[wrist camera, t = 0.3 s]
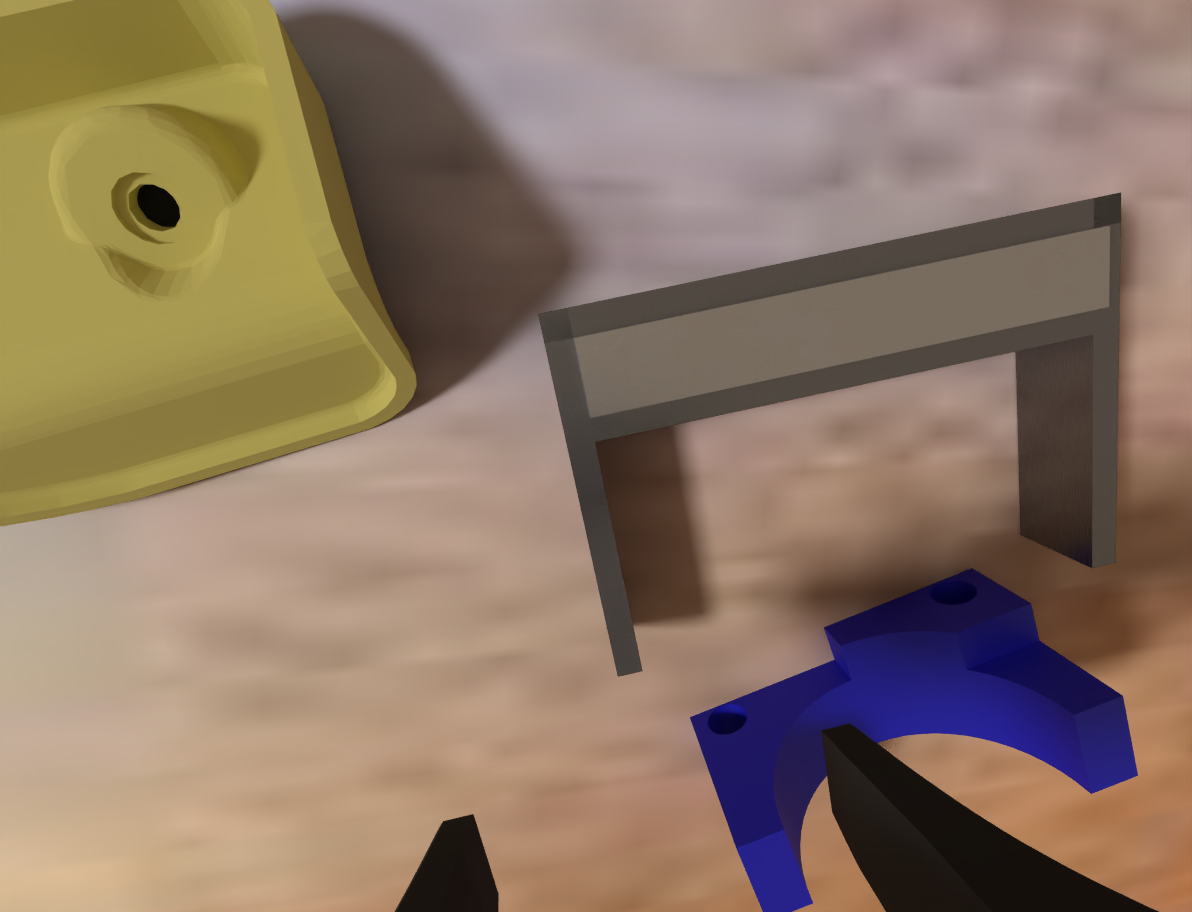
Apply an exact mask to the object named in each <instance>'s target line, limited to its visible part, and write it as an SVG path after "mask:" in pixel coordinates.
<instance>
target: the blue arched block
mask: <svg viewBox="0 0 1192 912" xmlns="http://www.w3.org/2000/svg"><path fill="white" fill-rule="evenodd" d="M824 629H825V632H826V635H827V638H828V641H829V644H830V647H831V650H832V653H833V656H834V659H835V660H833V661H830V662H828V663H825V664H823V665H820V666H818V667H815V668H813V669H810V670H808V671H805V672H803V673H800V674H798V675H795V676H793V677H790V678H788V679H785V680H783V681H780V682H778V683H775V684H773V685H770V686H768V687H765V688H763V689H760V690H758V691H755V692H752V693H750V694H747V695H745V696H742V697H740V698H737V699H735V700H732V701H730V702H727V703H725V704H722V705H720V706H717V707H715V708H712V709H710V710H707V711H705V712H702V713H700V714H697V715H695V716H692V717H690V719H691V722H692V725H693V727H694V730H695V733H696V736H697V739H698V742H699V744H700V747H701V750H702V753H703V756H704V758H705V761H706V764H707V767H708V770H709V772H710V775H711V778H712V781H713V784H714V787H715V789H716V792H717V795H718V798H719V801H720V803H721V806H722V809H723V812H724V815H725V817H726V820H727V823H728V826H729V829H730V832H731V834H732V837H733V840H734V843H735V846H736V848H737V851H738V853H739V856H740V858H741V860H742V863H743V865H744V867H745V870H746V872H747V875H748V877H749V879H750V882H751V884H752V887H753V889H754V891H755V894H756V896H757V898H758V901H759V903H760V906H761V908H762V910H763V912H792V911H795V910H797V909H800V908H802V907H805V906H807V905H810V904H812V903H813V902H812V899H811V897H810V894H809V891H808V889H807V886H806V882H805V878H804V875H803V870H802V863H801V853H800V840H801V829H802V824H803V819H804V816H805V813H806V810H807V807H808V805H809V802H810V800H811V798H812V796H813V794H814V793H815V791H816V789H817V788H818V786H819V785H820V783H821V782H822V781H823V780H824V778H825V777H826V776H827V770H826V763H825V756H824V748H823V741H822V734H821V730H825V729H829V728H833V727H837V726H841V725H845V724H852V725H853V726H855V727H856V728H857V729H859V730H860V731H861V732H863V733H864V734H865V735H867V736H868V737H869V738H871V739H872V740H873V741H875V742H876V743H878V742H881V741H885V740H888V739H891V738H896V737H901V736H906V735H915V734H929V733H941V734H956V735H965V736H971V737H977V738H982V739H986V740H990V741H994V742H997V743H1000V744H1003V745H1007V746H1010V747H1013V748H1015V749H1018V750H1020V751H1023V752H1025V753H1027V754H1030V755H1032V756H1034V757H1036V758H1038V759H1040V760H1042V761H1044V762H1046V763H1048V764H1049V765H1051V766H1053V767H1055V768H1056V769H1058V770H1060V771H1061V772H1063V773H1064V774H1066V775H1067V776H1069V777H1070V778H1071V779H1073V780H1074V781H1076V782H1077V783H1078V784H1080V785H1081V786H1082V787H1083V788H1085V789H1086V790H1087V791H1088V792H1089V793H1091V794H1092V793H1095V792H1097V791H1100V790H1103V789H1105V788H1108V787H1110V786H1113V785H1115V784H1118V783H1120V782H1123V781H1125V780H1128V779H1131V778H1133V777H1136V776H1138V773H1137V768H1136V763H1135V757H1134V752H1133V747H1132V742H1131V736H1130V731H1129V726H1128V720H1127V715H1126V710H1125V705H1124V699H1123V696H1122V695H1121V694H1119V693H1118V692H1116V691H1115V690H1113V689H1112V688H1110V687H1109V686H1107V685H1106V684H1104V683H1103V682H1101V681H1100V680H1098V679H1097V678H1095V677H1094V676H1092V675H1091V674H1089V673H1088V672H1086V671H1084V670H1083V669H1081V668H1080V667H1078V666H1077V665H1075V664H1074V663H1072V662H1071V661H1069V660H1068V659H1066V658H1065V657H1063V656H1062V655H1060V654H1059V653H1057V652H1056V651H1054V650H1053V649H1051V648H1050V647H1048V646H1047V645H1045V644H1044V643H1042V642H1041V641H1039V637H1038V632H1037V628H1036V623H1035V619H1034V615H1033V610H1032V606H1031V603H1029V602H1028V601H1026V600H1024V599H1023V598H1021V597H1019V596H1018V595H1016V594H1014V593H1013V592H1011V591H1009V590H1008V589H1006V588H1004V587H1002V586H1001V585H999V584H997V583H996V582H994V581H992V580H991V579H989V578H987V577H986V576H984V575H982V574H981V573H979V572H977V571H976V570H974V569H969V570H967V571H964V572H962V573H959V574H957V575H954V576H952V577H949V578H947V579H944V580H942V581H939V582H937V583H934V584H932V585H929V586H927V587H924V588H922V589H919V590H917V591H914V592H912V593H909V594H907V595H904V596H902V597H899V598H897V599H894V600H892V601H889V602H887V603H884V604H882V605H879V606H877V607H874V608H872V609H869V610H867V611H864V612H862V613H859V614H857V615H854V616H852V617H849V618H847V619H844V620H842V621H839V622H837V623H834V624H831V625H829V626H826V627H824Z"/></svg>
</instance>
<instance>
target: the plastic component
mask: <svg viewBox="0 0 1192 912" xmlns="http://www.w3.org/2000/svg"><path fill="white" fill-rule="evenodd" d="M145 184H153V185H156V186H158V187H160V188H163V189H165V190H166V191H167V192H168V193H169V194H171V195H172V196H173V197H174V199H175V200H176V202H177V204H178V205H179V208H180V219H179V221H178V223H177V225H176V227H162V226H160V225H158V224H156V223H154V222H152V221H150V220H149V219H147V218H146V216H145V215H144V213H143V212H142V211H141V209H140V208H139V206H138V201H137V194H138V191H139V188H140V187H142V186H143V185H145ZM416 386H417V383H416V374H415V370H414V367H413V364H412V360H411V357H410V354H409V351H408V350H407V348H406V346H405V345H404V343H403V342H402V340H401V338H400V337H399V335H398V333H397V332H396V330H395V328H394V326H393V324H392V322H391V320H390V318H389V315H388V313H387V311H386V309H385V307H384V304H383V302H382V299H381V297H380V294H379V292H378V289H377V287H376V284H375V281H374V279H373V276H372V273H371V270H370V267H369V264H368V261H367V259H366V255H365V251H364V248H363V244H362V240H361V237H360V233H359V229H358V226H357V222H356V218H355V215H354V211H353V208H352V204H351V200H350V197H349V193H348V189H347V186H346V182H345V178H344V175H343V171H342V167H341V164H340V160H339V156H338V153H337V149H336V145H335V142H334V138H333V134H332V131H331V127H330V123H329V120H328V116H327V112H326V109H325V105H324V103H323V100H322V98H321V96H320V94H319V93H318V91H317V89H316V87H315V85H314V83H313V81H312V79H311V78H310V76H309V74H308V72H307V70H306V68H305V66H304V64H303V62H302V61H301V59H300V57H299V55H298V53H297V51H296V49H295V47H294V46H293V44H292V42H291V40H290V38H289V36H288V34H287V32H286V31H285V29H284V27H283V25H282V23H281V21H280V19H279V17H278V15H277V14H276V12H275V10H274V8H273V7H272V5H271V3H270V1H269V0H0V526H6V525H12V524H18V523H24V522H30V521H36V520H41V519H47V518H53V517H58V516H63V515H68V514H73V513H78V512H83V511H87V510H92V509H97V508H101V507H105V506H110V505H114V504H118V503H122V502H126V501H131V500H135V499H139V498H143V497H146V496H150V495H153V494H156V493H159V492H163V491H166V490H169V489H173V488H176V487H179V486H183V485H186V484H189V483H192V482H196V481H199V480H202V479H206V478H209V477H212V476H216V475H219V474H222V473H225V472H229V471H232V470H235V469H239V468H242V467H245V466H248V465H252V464H255V463H258V462H262V461H265V460H268V459H272V458H275V457H278V456H281V455H285V454H288V453H291V452H295V451H298V450H301V449H305V448H308V447H311V446H314V445H318V444H321V443H324V442H328V441H331V440H334V439H338V438H341V437H344V436H347V435H351V434H354V433H357V432H361V431H364V430H367V429H371V428H373V427H375V426H377V425H379V424H381V423H383V422H385V421H387V420H389V419H391V418H392V417H393V416H395V415H396V414H397V413H399V412H400V411H401V410H403V409H404V408H405V406H406V405H407V404H408V403H409V401H410V400H411V399H412V398H413V395H414V392H415V389H416Z"/></svg>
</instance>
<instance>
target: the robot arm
mask: <svg viewBox="0 0 1192 912" xmlns="http://www.w3.org/2000/svg"><path fill="white" fill-rule="evenodd" d="M821 734H822V741H823V748H824V756H825V763H826V770H827V777H828V785H829V792H830V799H831V806H832V813H833V815H834V817H835V819H836V821H837V823H838V825H839V827H840V829H841V832H842V834H843V836H844V838H845V840H846V842H847V844H848V846H849V848H850V850H851V852H852V854H853V856H854V858H855V860H856V862H857V864H858V866H859V868H860V870H861V871H862V873H863V875H864V876H865V878H866V880H867V881H868V883H869V884H870V886H871V888H872V889H873V891H874V893H875V894H876V896H877V898H878V899H879V901H880V903H881V904H882V906H883V907H884V909H885V911H886V912H1158V911H1156V910H1154V909H1152V908H1149V907H1147V906H1145V905H1143V904H1141V903H1139V902H1137V901H1135V900H1132V899H1130V898H1128V897H1126V896H1124V895H1122V894H1120V893H1118V892H1116V891H1114V890H1112V889H1110V888H1107V887H1105V886H1103V885H1101V884H1099V883H1097V882H1095V881H1093V880H1091V879H1089V878H1087V877H1085V876H1083V875H1081V874H1079V873H1077V872H1075V871H1074V870H1072V869H1070V868H1068V867H1066V866H1064V865H1062V864H1061V863H1059V862H1057V861H1055V860H1053V859H1051V858H1050V857H1048V856H1046V855H1044V854H1042V853H1041V852H1039V851H1037V850H1035V849H1033V848H1032V847H1030V846H1028V845H1026V844H1024V843H1023V842H1021V841H1019V840H1018V839H1016V838H1014V837H1013V836H1011V835H1009V834H1008V833H1006V832H1004V831H1003V830H1001V829H1000V828H998V827H996V826H995V825H993V824H992V823H990V822H988V821H987V820H985V819H984V818H982V817H981V816H979V815H977V814H976V813H974V812H973V811H971V810H970V809H968V808H967V807H965V806H964V805H962V804H961V803H959V802H958V801H956V800H955V799H953V798H952V797H950V796H949V795H948V794H946V793H945V792H943V791H942V790H940V789H939V788H937V787H936V786H935V785H933V784H932V783H930V782H929V781H927V780H926V779H924V778H923V777H922V776H920V775H919V774H918V773H916V772H915V771H913V770H912V769H911V768H909V767H908V766H907V765H905V764H904V763H903V762H901V761H900V760H898V759H897V758H896V757H894V756H893V755H892V754H890V753H889V752H888V751H886V750H885V749H884V748H882V747H881V746H880V745H878V744H877V743H876V742H875V741H873V740H872V739H871V738H869V737H868V736H867V735H865V734H864V733H863V732H861V731H860V730H859V729H857V728H856V727H855V726H853V725H852V724H845V725H841V726H837V727H833V728H829V729H825V730H821ZM395 912H498V891H497V888H496V885H495V881H494V878H493V875H492V872H491V869H490V866H489V862H488V859H487V856H486V853H485V850H484V846H483V843H482V840H481V837H480V834H479V831H478V827H477V824H476V821H475V818H474V815H473V814H472V815H468V816H463V817H459V818H455V819H451V820H447V821H443V823H442V824H441V826H440V827H439V829H438V831H437V833H436V835H435V837H434V839H433V841H432V843H431V845H430V847H429V848H428V850H427V852H426V854H425V856H424V858H423V860H422V862H421V864H420V866H419V868H418V870H417V872H416V873H415V875H414V877H413V879H412V881H411V883H410V885H409V887H408V889H407V890H406V892H405V894H404V896H403V898H402V899H401V901H400V903H399V905H398V907H397V908H396V910H395Z"/></svg>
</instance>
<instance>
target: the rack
mask: <svg viewBox="0 0 1192 912" xmlns="http://www.w3.org/2000/svg"><path fill="white" fill-rule="evenodd" d="M1120 233H1121V193H1117V194H1112V195H1107V196H1102V197H1097V198H1093V199H1088V200H1083V201H1078V202H1073V203H1069V204H1064V205H1059V206H1054V207H1049V208H1045V209H1040V210H1035V211H1030V212H1025V213H1021V214H1016V215H1011V216H1006V217H1001V218H997V219H992V220H987V221H982V222H977V223H973V224H968V225H963V226H958V227H953V228H949V229H944V230H939V231H934V232H929V233H925V234H920V235H915V236H910V237H905V238H901V239H896V240H891V241H886V242H881V243H877V244H872V245H867V246H862V247H857V248H853V249H848V250H843V251H838V252H833V253H829V254H824V255H819V256H814V257H809V258H805V259H800V260H795V261H790V262H785V263H781V264H776V265H771V266H766V267H761V268H757V269H752V270H747V271H742V272H737V273H733V274H728V275H723V276H718V277H713V278H709V279H704V280H699V281H694V282H689V283H685V284H680V285H675V286H670V287H665V288H661V289H656V290H651V291H646V292H641V293H637V294H632V295H627V296H622V297H617V298H613V299H608V300H603V301H598V302H593V303H589V304H584V305H579V306H574V307H569V308H565V309H560V310H555V311H550V312H545V313H541V314H538V316H539V320H540V325H541V329H542V334H543V338H544V343H545V347H546V352H547V357H548V361H549V366H550V370H551V375H552V379H553V384H554V388H555V393H556V397H557V402H558V407H559V411H560V416H561V420H562V425H563V429H564V434H565V438H566V443H567V448H568V452H569V457H570V461H571V466H572V470H573V475H574V479H575V484H576V488H577V493H578V498H579V502H580V507H581V511H582V516H583V520H584V525H585V529H586V534H587V539H588V543H589V548H590V552H591V557H592V561H593V566H594V570H595V575H596V579H597V584H598V589H599V593H600V598H601V602H602V607H603V611H604V616H605V620H606V625H607V629H608V634H609V639H610V643H611V648H612V652H613V657H614V661H615V666H616V670H617V675H618V677H619V676H623V675H628V674H632V673H636V672H641V671H642V666H641V661H640V657H639V652H638V647H637V642H636V637H635V633H634V628H633V623H632V618H631V613H630V608H629V604H628V599H627V594H626V589H625V584H624V580H623V575H622V570H621V565H620V560H619V556H618V551H617V546H616V541H615V536H614V531H613V527H612V522H611V517H610V512H609V507H608V503H607V498H606V493H605V488H604V483H603V478H602V474H601V469H600V464H599V459H598V454H597V450H596V445H595V442H598V441H602V440H607V439H612V438H616V437H621V436H626V435H630V434H635V433H639V432H644V431H649V430H653V429H658V428H663V427H667V426H672V425H676V424H681V423H686V422H690V421H695V420H700V419H704V418H709V417H714V416H718V415H723V414H727V413H732V412H737V411H741V410H746V409H751V408H755V407H760V406H765V405H769V404H774V403H778V402H783V401H788V400H792V399H797V398H802V397H806V396H811V395H815V394H820V393H825V392H829V391H834V390H839V389H843V388H848V387H853V386H857V385H862V384H866V383H871V382H876V381H880V380H885V379H890V378H894V377H899V376H904V375H908V374H913V373H917V372H922V371H927V370H931V369H936V368H941V367H945V366H950V365H954V364H959V363H964V362H968V361H973V360H978V359H982V358H987V357H992V356H996V355H1001V354H1005V353H1010V352H1015V351H1016V379H1017V415H1018V452H1019V489H1020V526H1021V535H1022V536H1024V537H1026V538H1028V539H1030V540H1033V541H1035V542H1037V543H1039V544H1041V545H1043V546H1045V547H1048V548H1050V549H1052V550H1054V551H1056V552H1058V553H1061V554H1063V555H1065V556H1067V557H1069V558H1071V559H1073V560H1076V561H1078V562H1080V563H1082V564H1084V565H1086V566H1089V567H1091V568H1095V567H1100V566H1104V565H1108V564H1113V563H1116V498H1117V432H1118V366H1119V299H1120Z"/></svg>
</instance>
